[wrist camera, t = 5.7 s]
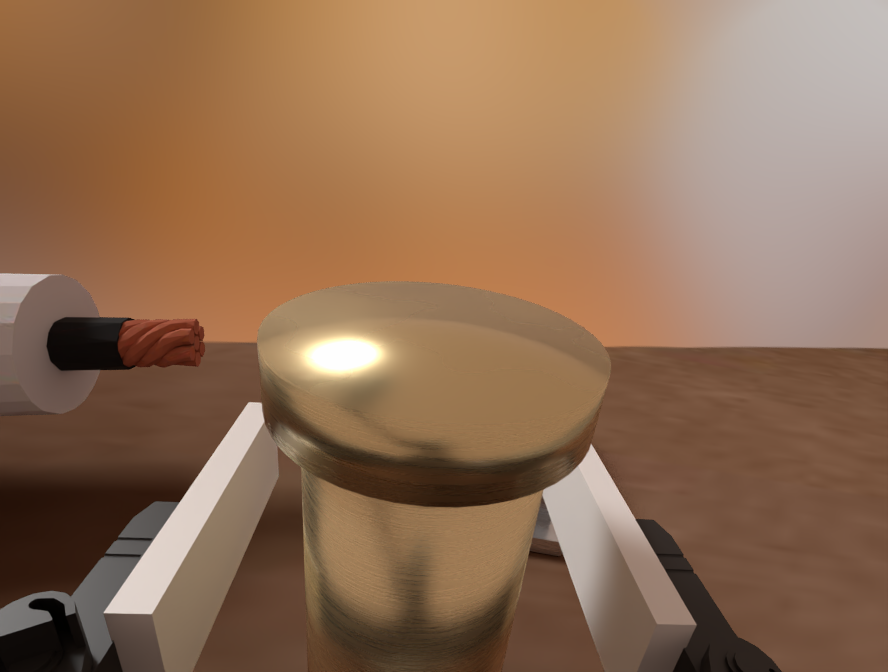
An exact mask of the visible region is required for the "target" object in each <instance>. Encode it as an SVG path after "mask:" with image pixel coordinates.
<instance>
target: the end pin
mask: <svg viewBox="0 0 888 672" xmlns="http://www.w3.org/2000/svg"><path fill="white" fill-rule="evenodd" d="M257 344H258V358H259V372H260V386H261V401H262V412H263V417H264V422H265V425H266V427H267V430H268V432H269V434H270V436H271V438H272V439H273V440H274V442H275V443H276V444H277V445H278V447H279V448H280V449H281V450H282V451H283V452H284V453H285V454H286V455H287V456H288V457H289V458H291V459H292V460H293V461H294V462H295V463H296V464H297V465H299V466H301V474H302V505H303V536H304V567H305V597H306V628H307V659H308V672H501V671H502V667H503V663H504V659H505V654H506V650H507V646H508V641H509V637H510V633H511V628H512V624H513V620H514V615H515V611H516V607H517V602H518V598H519V594H520V589H521V585H522V581H523V577H524V572H525V568H526V564H527V559H528V555H529V551H530V546H531V542H532V538H533V533H534V529H535V525H536V520H537V516H538V512H539V507H540V503H541V499H542V495H543V490H544V489H546V488H548V487H550V486H552V485H554V484H556V483H557V482H559V481H560V480H562V479H563V478H565V477H566V476H568V475H569V474H570V473H571V472H572V471H573V470H574V469H575V468H576V467H577V466H578V465H579V464H580V463H581V462H582V461H583V459H584V458H585V456H586V454H587V453H588V451H589V449H590V446H591V442H592V439H593V435H594V432H595V428H596V424H597V421H598V417H599V413H600V410H601V406H602V402H603V398H604V395H605V391H606V387H607V384H608V380H609V376H610V373H611V361H610V358H609V355H608V353H607V351H606V349H605V348H604V347H603V345H602V344H601V342H600V341H598V340H597V338H596V337H595V336H594V335H593V334H591V333H590V332H589V331H587V330H586V329H585V328H584V327H582V326H580V325H579V324H577V323H576V322H574V321H572V320H571V319H568V318H567V317H565V316H563V315H561V314H559V313H557V312H554V311H552V310H550V309H547V308H545V307H542V306H540V305H537V304H534V303H531V302H528V301H525V300H522V299H519V298H515V297H511V296H508V295H504V294H500V293H496V292H491V291H487V290H481V289H476V288H471V287H464V286H457V285H449V284H440V283H426V282H370V283H358V284H350V285H343V286H337V287H331V288H326V289H323V290H318V291H314V292H311V293H308V294H305V295H301V296H299V297H297V298H294V299H292V300H289V301H288V302H286V303H284V304H282V305H280V306H278V307H277V308H276V309H275V310H273V311H272V312H271V313H269V314H268V316H267V317H266V318H265V319H264V320H263V322H262V323H261V326H260V328H259V330H258V337H257Z"/></svg>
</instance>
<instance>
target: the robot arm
mask: <svg viewBox="0 0 888 672" xmlns="http://www.w3.org/2000/svg"><path fill="white" fill-rule="evenodd" d="M278 477H279V471H278V453H277V444H276V443H275V442H274V440H273V439H272V438H271V436H270V434H269V432H268V430H267V427H266V425H265V422H264V417H263V412H262V403H252V402H249V403H248V404H247V406H246V407H245V409H244V410H243V411H242V413H241V414H240V416H239V417H238V419H237V420H236V422H235V423H234V425H233V426H232V427H231V429H230V430H229V432H228V433H227V435H226V436H225V438H224V439H223V440H222V442H221V443H220V445H219V446H218V448H217V449H216V451H215V452H214V453H213V455H212V456H211V458H210V459H209V461H208V462H207V464H206V465H205V467H204V468H203V469H202V471H201V472H200V474H199V475H198V477H197V478H196V480H195V481H194V482H193V484H192V485H191V487H190V488H189V490H188V491H187V493H186V494H185V495H184V497H183V498H182V500H181V501H180V502H159V501H155V502H154V503H153V504H151V505H150V506H148V507H147V508H146V509H144V510H143V511H142V512H140V513H139V514H137V515H136V516H135V517H133V519H132V520H131V521H130V522H129V524H128V525H127V526H126V527H125V529H124V530H123V531H122V532H121V534H120V535H119V536H118V540H117V541H114V543H113V544H112V545H111V546H110V548H109V549H108V550H107V552H106V553H105V556H104V558H101V559H100V560H99V562H98V563H97V564H96V565H95V567H94V568H93V569H92V571H91V572H90V573H89V574H88V576H87V577H86V578H85V579H84V581H83V582H82V583H81V584H80V586H79V587H78V588H77V590H76V591H75V592H74V593H73V595H72V596H71V597H70V596H69V595H68V594H67V593H63V592H57V591H47V592H41V593H35V594H31V595H29V596H26V597H24V598H21V599H19V600H16V601H14V602H11V603H10V604H8V605H7V606H5V607H3V608H2V609H0V672H193V669H194V667H195V665H196V663H197V660H198V658H199V656H200V653H201V651H202V649H203V647H204V644H205V642H206V640H207V638H208V635H209V633H210V631H211V629H212V626H213V624H214V622H215V619H216V617H217V615H218V613H219V610H220V608H221V606H222V604H223V601H224V599H225V597H226V594H227V592H228V590H229V588H230V585H231V583H232V581H233V579H234V576H235V574H236V572H237V570H238V567H239V565H240V563H241V560H242V558H243V556H244V554H245V551H246V549H247V547H248V545H249V542H250V540H251V538H252V536H253V533H254V531H255V529H256V526H257V524H258V522H259V520H260V517H261V515H262V513H263V511H264V508H265V506H266V504H267V502H268V499H269V497H270V495H271V492H272V490H273V488H274V486H275V483H276V481H277V479H278ZM542 496H543V498H544V501H545V504H546V507H547V510H548V513H549V515H550V518H551V521H552V524H553V527H554V530H555V532H556V535H557V538H558V541H559V544H560V547H561V549H562V552H563V555H564V558H565V561H566V564H567V566H568V569H569V572H570V575H571V578H572V581H573V584H574V586H575V589H576V592H577V595H578V598H579V601H580V603H581V606H582V609H583V612H584V615H585V618H586V620H587V623H588V626H589V629H590V632H591V635H592V637H593V640H594V643H595V646H596V649H597V652H598V654H599V657H600V660H601V663H602V666H603V669H604V672H782V671H781V670H780V669H779V668H778V666H777V665H776V664H775V663H774V662H773V660H772V659H771V658H770V657H768V656H767V655H766V654H765V653H764V652H762V651H761V650H760V649H759V648H758V647H756V646H754V645H753V644H751V643H749V642H747V641H745V640H743V639H741V638H738V637H737V636H736V634H735V633H734V631H733V630H732V628H731V627H730V625H729V624H728V622H727V621H726V619H725V618H724V616H723V615H722V613H721V612H720V610H719V608H718V607H717V605H716V604H715V602H714V601H713V599H712V598H711V596H710V595H709V593H708V592H707V590H706V588H705V587H704V585H703V584H702V582H701V581H700V579H699V578H698V576H697V575H696V574H694V572H693V568H692V567H691V565H690V564H689V562H688V561H687V559H686V558H684V557H683V553H682V552H681V550H680V549H679V547H678V545H677V544H676V542H675V541H674V539H673V538H672V536H671V535H670V534H669V533H667V532H666V531H665V530H664V529H663V528H662V527H661V526H660V525H659V524H658V523H656V522H655V521H654V520H645V519H635V518H634V516H633V515H632V513H631V511H630V509H629V508H628V506H627V504H626V502H625V501H624V499H623V497H622V496H621V494H620V492H619V490H618V489H617V487H616V485H615V484H614V482H613V480H612V478H611V477H610V475H609V473H608V472H607V470H606V468H605V466H604V465H603V463H602V461H601V460H600V458H599V456H598V454H597V453H596V451H595V449H594V448H593V446H592V444H591V446H590V449H589V451H588V453H587V454H586V456H585V458H584V459H583V461H582V462H581V463H580V464H579V465H578V466H577V467H576V468H575V469H574V470H573V471H572V472H571V473H570V474H569V475H568V476H566V477H565V478H563V479H562V480H560V481H559V482H557V483H556V484H554V485H552V486H550V487H548V488H546V489H544V490H543V495H542Z"/></svg>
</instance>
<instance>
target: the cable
mask: <svg viewBox="0 0 888 672" xmlns="http://www.w3.org/2000/svg"><path fill="white" fill-rule="evenodd" d="M203 338H204V329H203V327H201V326H199V322H198V321H197V319H174V320H161V319H156V320H134V319H131V318H105V317H104V318H103V317H99V313H98V310H97V307H96V305H95V303H94V301H93V299H92V297H91V295H90V293H89V292H88V291H87V290H86V289H85V288H84V287H83V286H82V285H81V284H80V283H79V282H78V281H77V280H75V279H73V278H70V277H67V276H64V275H44V274H42V275H41V274H0V416H15V415H46V414H63V413H65V412H68V411H70V410H73V409H75V408H76V407H77V406H79V405H80V404H81V403H82V402H83V401H85V400H86V398H87V396H88V395H89V393H90V392H91V390H92V389H93V387H94V385H95V383H96V380H97V377H98V375H99V372H100V370H125V369H131V368H133V367H135V366H138V367H150V366H152V365H157V366H159V367H163V368H164V367H167V366H170V365H185V366H197V367H198V366H199V364H200V362H201V357H203V355H204V352H205V345H204V343H203V342H199V341H203Z"/></svg>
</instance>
